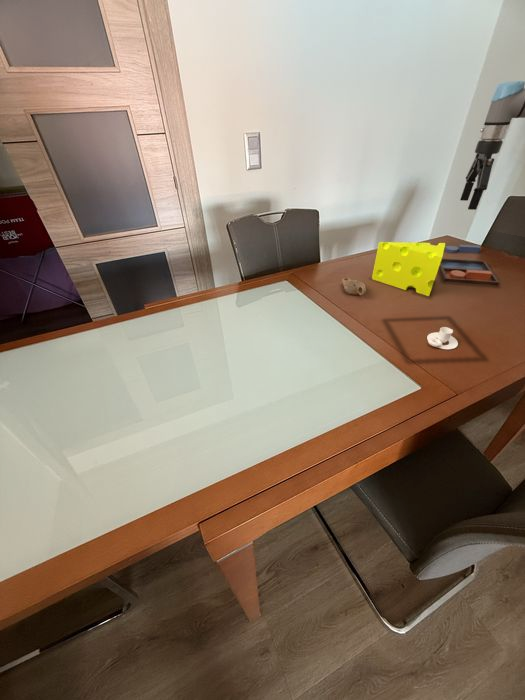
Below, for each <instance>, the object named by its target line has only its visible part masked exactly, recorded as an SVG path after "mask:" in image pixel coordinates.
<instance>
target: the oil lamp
mask: <svg viewBox="0 0 525 700" xmlns="http://www.w3.org/2000/svg"><path fill="white" fill-rule="evenodd" d="M341 283H342V286H343V290H344V292H346V294H348V295H352V296H356V295H360V296H363V295H366V293H367V289H366V284H365V283H364V282H363V281H360V280H357V279H351V277H344V278H342V279H341Z"/></svg>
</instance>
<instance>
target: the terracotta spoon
mask: <svg viewBox="0 0 525 700" xmlns="http://www.w3.org/2000/svg"><path fill="white" fill-rule="evenodd" d="M491 271H492V270H491ZM491 271H479V270H466V273H464V272H462V271H458V270H454V271H451V272H450V275H449V276H450V277H451V278H457V279H464V278H467V279H480V280H490V278H491V276H492V273H491Z"/></svg>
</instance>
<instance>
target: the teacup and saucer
mask: <svg viewBox="0 0 525 700" xmlns="http://www.w3.org/2000/svg"><path fill="white" fill-rule="evenodd" d="M453 333H454V330H453V329H452V328H451V327H447V326H441V327H440V328H439V331H437V332H436V331H435V332H430V333H428V334H427V337H426V340H427V343H428V345H430V346H432V347H434V348H438V349H442V350H453V349H456V348H457V347H459V342H458V340H457V339H456V338H455V337H453V336H452V334H453ZM447 342H448V344H446V343H447ZM444 344H445V345H444Z"/></svg>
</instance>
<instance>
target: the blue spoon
mask: <svg viewBox="0 0 525 700" xmlns="http://www.w3.org/2000/svg"><path fill="white" fill-rule="evenodd" d="M481 248H482V247H481V246H480V245H473V244H458V246H455V245H445V248H444V252H447V253H453V254H456V253H472V254H473V253H474V254H475V253H477V254H479V253H480V250H481Z"/></svg>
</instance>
